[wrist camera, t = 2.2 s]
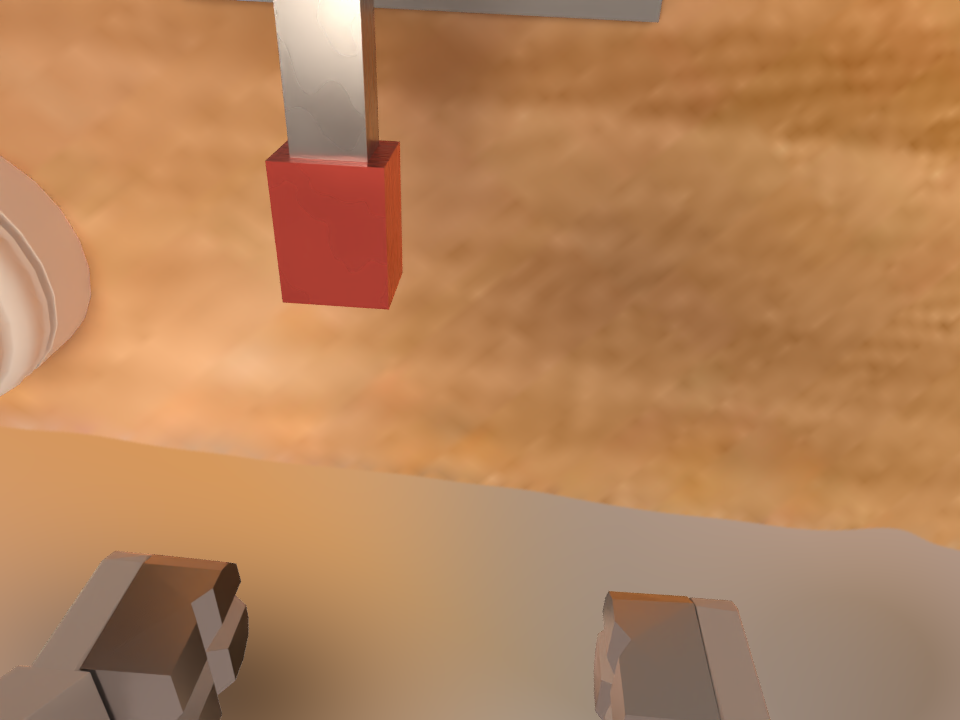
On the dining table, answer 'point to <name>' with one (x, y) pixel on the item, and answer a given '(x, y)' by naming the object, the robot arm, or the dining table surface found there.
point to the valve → (537, 8)
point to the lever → (333, 161)
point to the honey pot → (36, 277)
